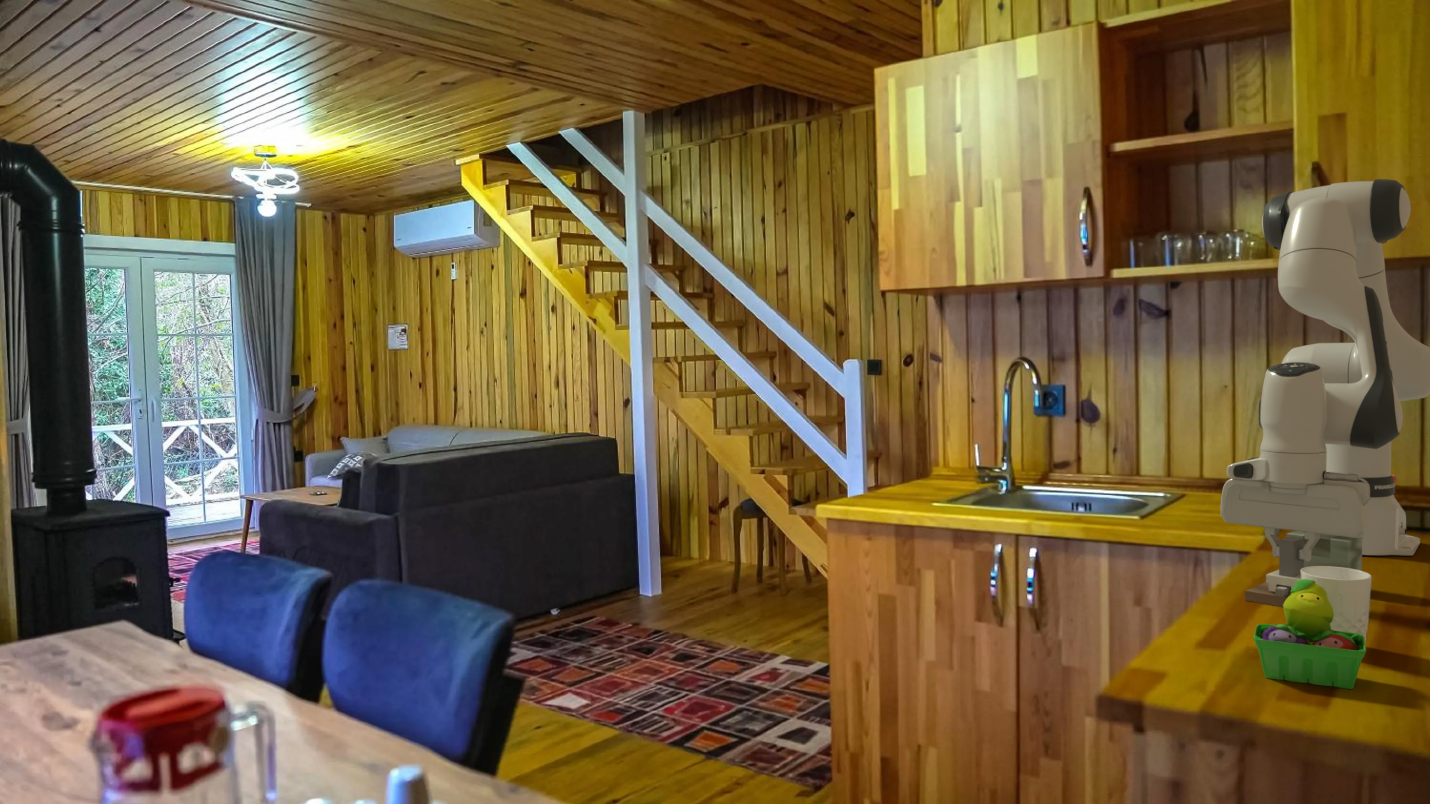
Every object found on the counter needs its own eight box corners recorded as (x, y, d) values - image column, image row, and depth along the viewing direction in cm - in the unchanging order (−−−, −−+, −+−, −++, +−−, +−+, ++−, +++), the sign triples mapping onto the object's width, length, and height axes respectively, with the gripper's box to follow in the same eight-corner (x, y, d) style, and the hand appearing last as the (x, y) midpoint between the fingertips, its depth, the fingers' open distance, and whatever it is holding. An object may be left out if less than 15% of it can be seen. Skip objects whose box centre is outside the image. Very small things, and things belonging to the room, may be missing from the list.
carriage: (1282, 583, 158) (1282, 533, 157) (1316, 589, 154) (1317, 538, 153) (1265, 590, 154) (1266, 539, 154) (1301, 596, 150) (1301, 543, 150)
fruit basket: (1252, 679, 120) (1253, 587, 119) (1257, 659, 128) (1258, 571, 127) (1365, 695, 114) (1367, 597, 113) (1363, 672, 122) (1365, 581, 121)
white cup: (1381, 658, 127) (1382, 580, 126) (1313, 656, 128) (1313, 579, 128) (1354, 640, 134) (1355, 566, 134) (1290, 638, 136) (1291, 565, 135)
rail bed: (1297, 578, 168) (1297, 528, 167) (1365, 589, 160) (1365, 536, 160) (1245, 600, 155) (1245, 546, 155) (1315, 612, 148) (1316, 555, 147)
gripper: (1377, 473, 147) (1376, 566, 148) (1233, 462, 163) (1233, 546, 164) (1362, 477, 143) (1360, 573, 144) (1216, 466, 159) (1215, 552, 160)
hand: (1291, 558), depth 154 cm, fingers closed on carriage, 2 cm apart
